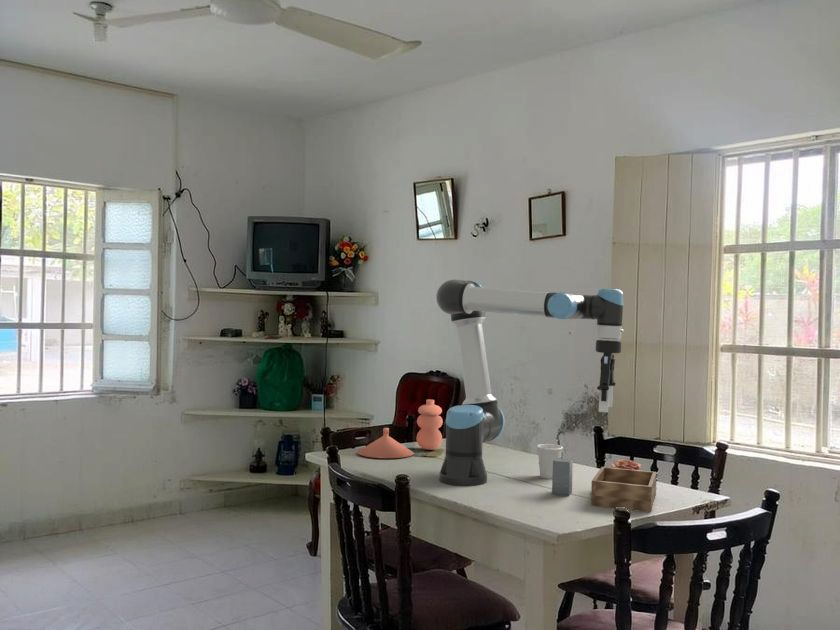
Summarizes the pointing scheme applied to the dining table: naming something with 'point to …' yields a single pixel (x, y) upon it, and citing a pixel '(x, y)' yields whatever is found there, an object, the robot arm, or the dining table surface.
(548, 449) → the dixie cup
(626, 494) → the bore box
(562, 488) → the peg
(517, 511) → the dining table surface
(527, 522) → the dining table surface
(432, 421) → the ceramic vessels
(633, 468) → the flower
